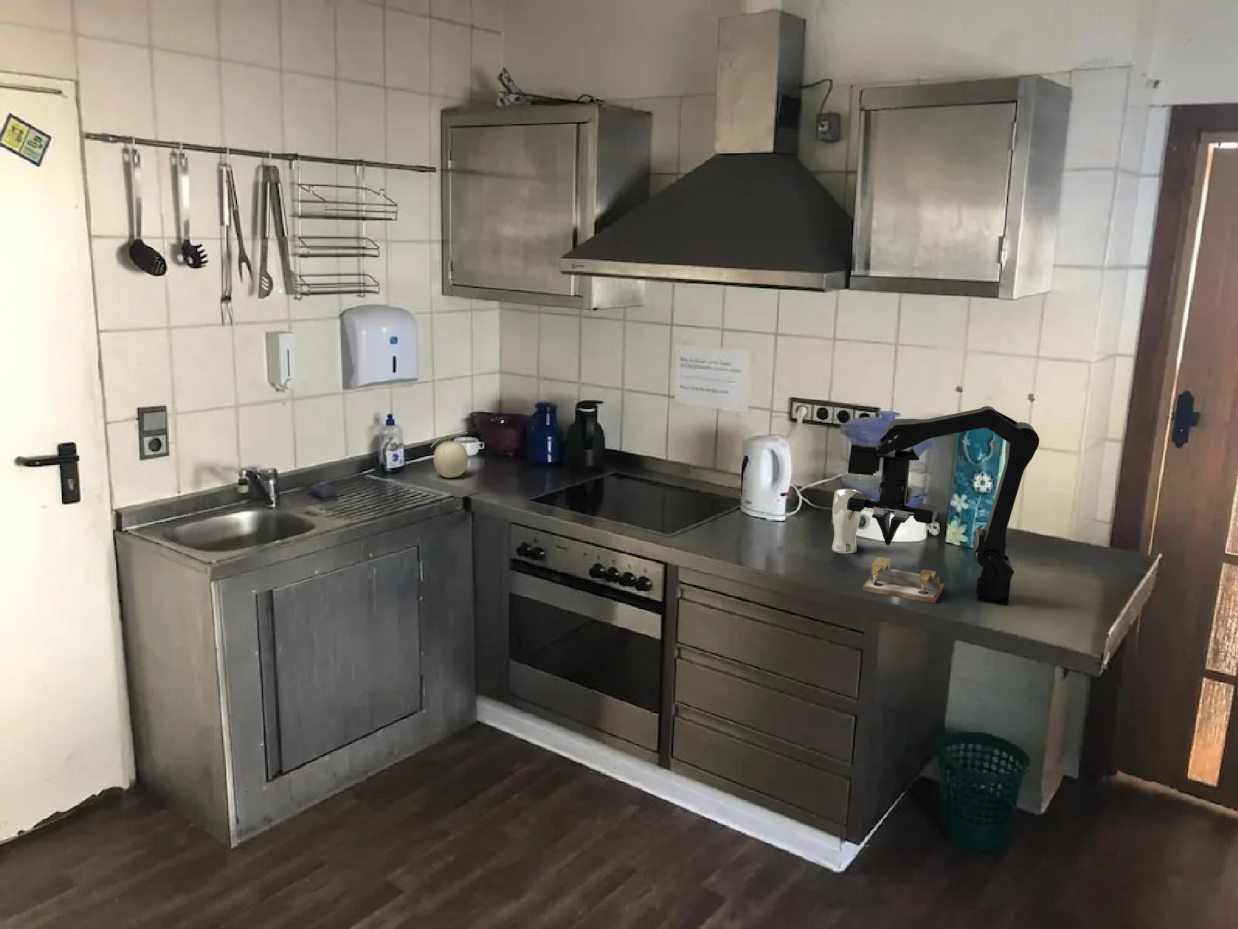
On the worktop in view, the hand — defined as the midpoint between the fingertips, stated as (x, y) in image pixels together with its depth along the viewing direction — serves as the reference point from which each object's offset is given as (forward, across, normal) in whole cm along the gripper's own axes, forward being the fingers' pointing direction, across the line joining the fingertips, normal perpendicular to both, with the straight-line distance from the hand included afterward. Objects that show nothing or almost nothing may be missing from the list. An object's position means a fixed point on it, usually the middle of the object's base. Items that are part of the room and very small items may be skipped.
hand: (888, 544), depth 230 cm
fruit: (+13, +142, -27) cm, 146 cm away
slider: (+9, +2, -2) cm, 10 cm away
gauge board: (+10, -4, -2) cm, 11 cm away
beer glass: (+11, +15, -21) cm, 28 cm away
